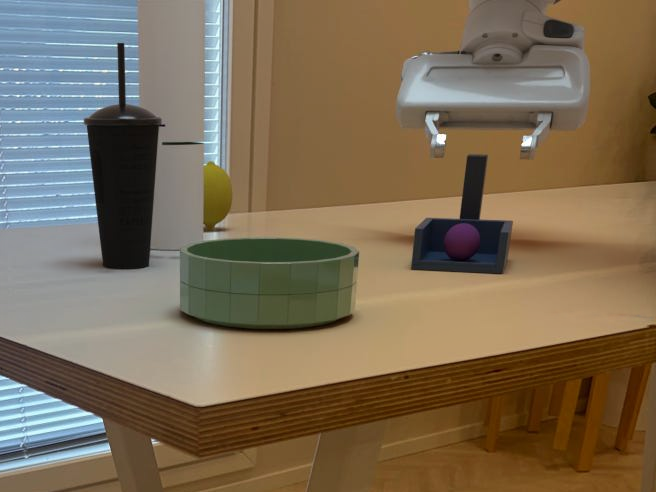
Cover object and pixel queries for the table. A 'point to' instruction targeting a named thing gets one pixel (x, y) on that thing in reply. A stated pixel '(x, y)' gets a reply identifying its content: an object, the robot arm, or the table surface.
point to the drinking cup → (124, 176)
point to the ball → (461, 242)
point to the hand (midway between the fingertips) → (481, 154)
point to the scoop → (491, 231)
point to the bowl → (268, 282)
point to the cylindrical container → (175, 114)
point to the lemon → (216, 195)
